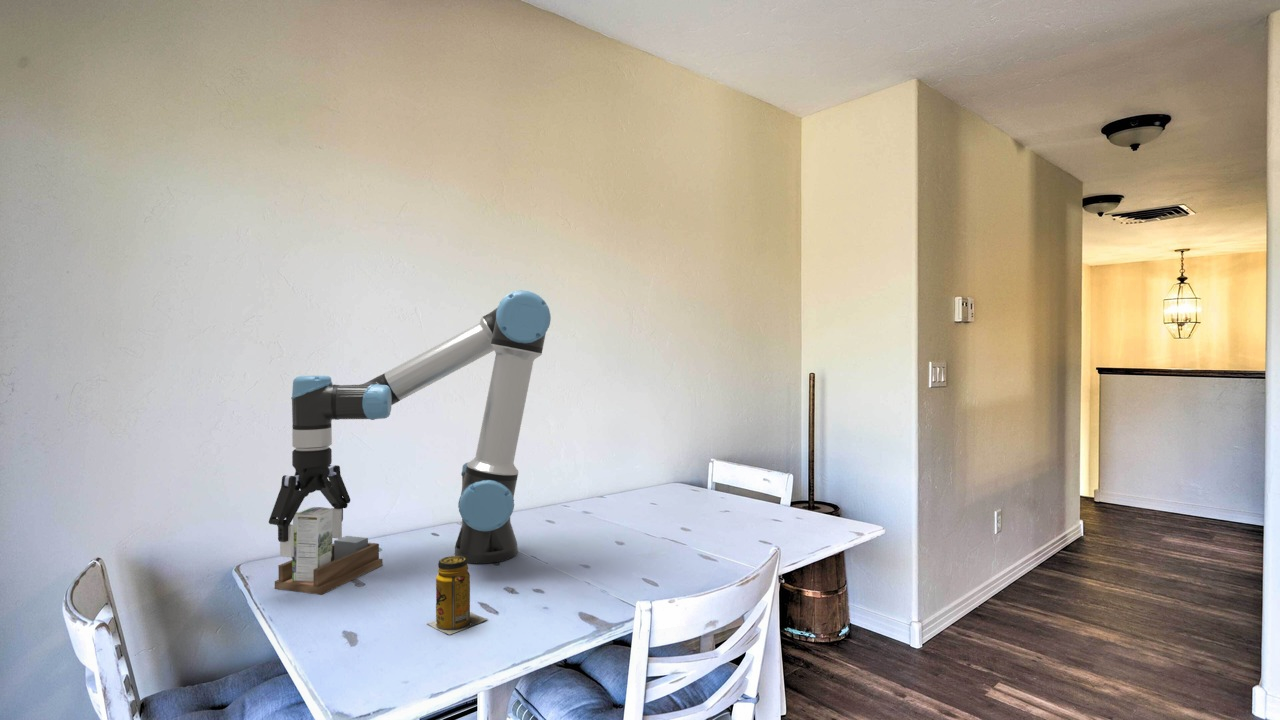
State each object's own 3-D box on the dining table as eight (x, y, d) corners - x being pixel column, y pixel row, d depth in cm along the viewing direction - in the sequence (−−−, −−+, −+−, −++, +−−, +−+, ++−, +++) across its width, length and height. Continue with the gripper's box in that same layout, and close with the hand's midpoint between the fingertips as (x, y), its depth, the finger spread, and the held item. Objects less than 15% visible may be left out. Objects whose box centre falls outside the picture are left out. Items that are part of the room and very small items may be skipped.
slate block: (368, 559, 151) (368, 538, 151) (356, 564, 147) (356, 542, 147) (346, 556, 153) (346, 535, 153) (334, 562, 149) (334, 540, 149)
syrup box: (307, 572, 142) (306, 506, 142) (333, 573, 141) (333, 507, 141) (291, 581, 136) (291, 513, 136) (318, 582, 136) (318, 513, 135)
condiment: (426, 624, 120) (426, 560, 119) (465, 610, 126) (465, 549, 126) (449, 636, 115) (449, 568, 115) (488, 620, 121) (488, 557, 121)
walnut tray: (382, 565, 151) (382, 544, 151) (321, 594, 133) (321, 570, 133) (339, 560, 155) (339, 539, 155) (274, 588, 137) (274, 564, 136)
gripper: (339, 439, 151) (340, 529, 152) (248, 456, 127) (248, 563, 128) (366, 440, 149) (367, 532, 150) (278, 458, 125) (279, 567, 126)
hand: (312, 546), depth 139 cm, fingers open, 13 cm apart
